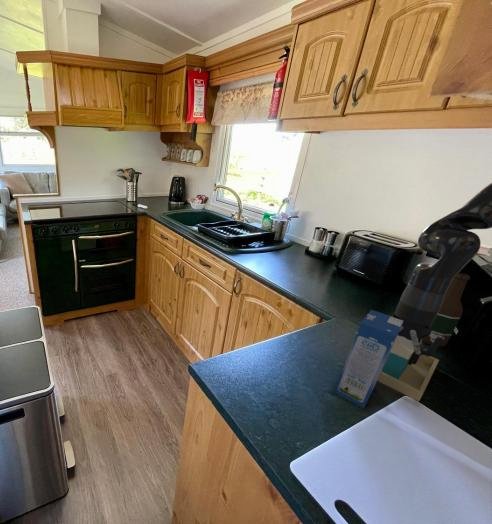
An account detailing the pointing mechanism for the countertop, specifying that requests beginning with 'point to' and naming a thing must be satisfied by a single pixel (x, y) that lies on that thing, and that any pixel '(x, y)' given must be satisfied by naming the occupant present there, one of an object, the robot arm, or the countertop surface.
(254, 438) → the countertop surface
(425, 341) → the beer bottle
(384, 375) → the crate
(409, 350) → the white and teal box
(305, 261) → the countertop surface
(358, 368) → the milk carton
